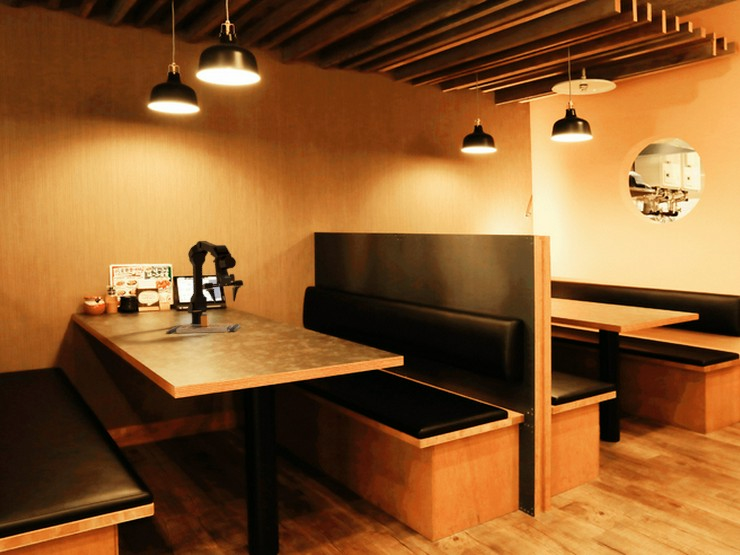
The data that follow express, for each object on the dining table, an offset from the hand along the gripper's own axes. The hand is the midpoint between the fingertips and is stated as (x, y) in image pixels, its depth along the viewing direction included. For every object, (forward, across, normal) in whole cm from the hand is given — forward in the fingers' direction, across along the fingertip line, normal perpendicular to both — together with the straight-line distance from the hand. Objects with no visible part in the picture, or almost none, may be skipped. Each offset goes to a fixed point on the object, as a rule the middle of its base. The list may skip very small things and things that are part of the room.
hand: (224, 302), depth 306 cm
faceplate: (+12, -9, +8) cm, 17 cm away
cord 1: (+11, -22, +14) cm, 29 cm away
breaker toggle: (+10, -9, +8) cm, 16 cm away
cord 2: (+14, +4, +3) cm, 14 cm away
